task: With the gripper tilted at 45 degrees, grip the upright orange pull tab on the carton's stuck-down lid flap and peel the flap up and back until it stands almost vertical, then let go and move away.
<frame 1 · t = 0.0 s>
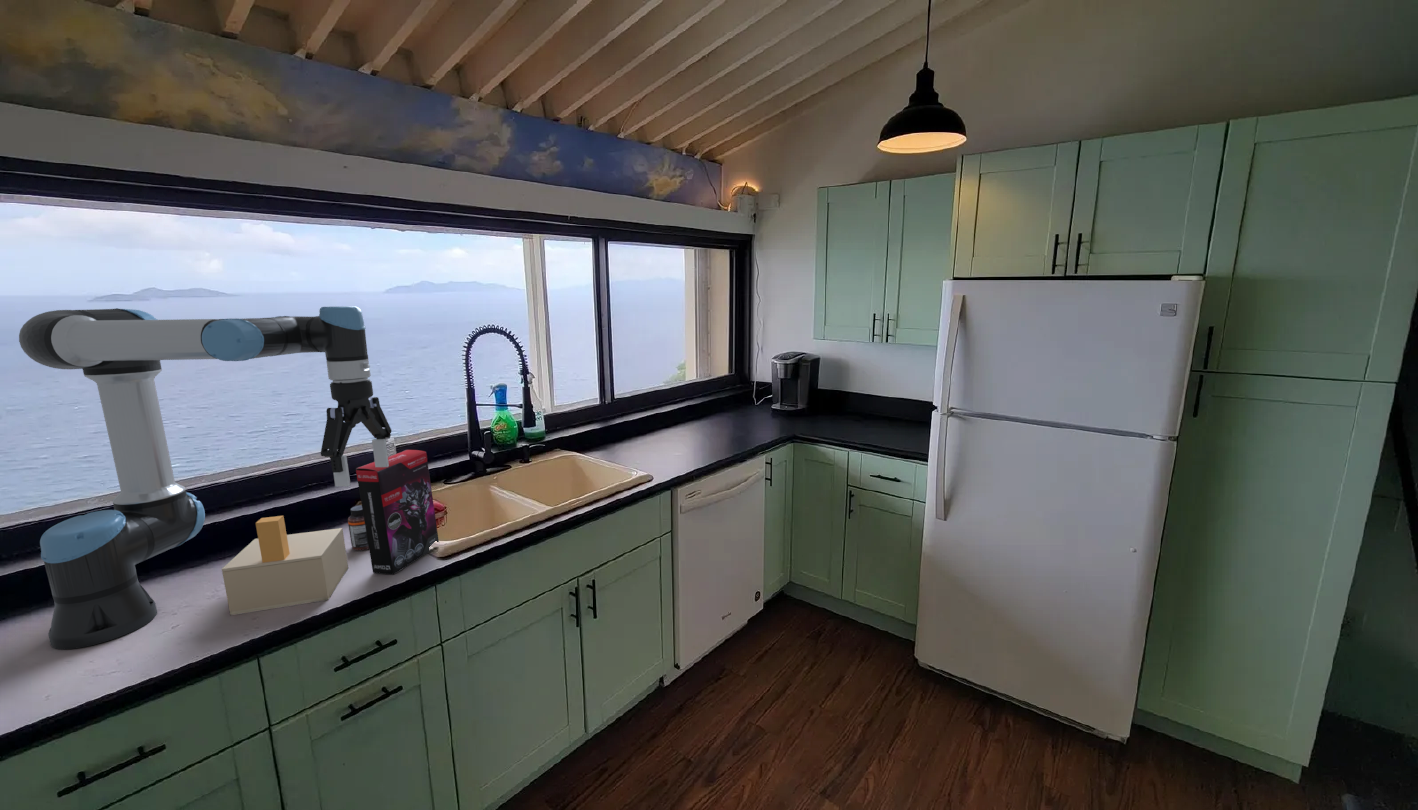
hand: (363, 476, 122), 28 cm above the countertop, tool pointing down, fingers open, 13 cm apart
carton: (294, 589, 129), on the countertop
supplement bottle: (364, 547, 152), on the countertop
carton flap: (284, 529, 126), point 15 cm above the countertop, hinge at 0.0°
graphics card box: (406, 560, 143), on the countertop
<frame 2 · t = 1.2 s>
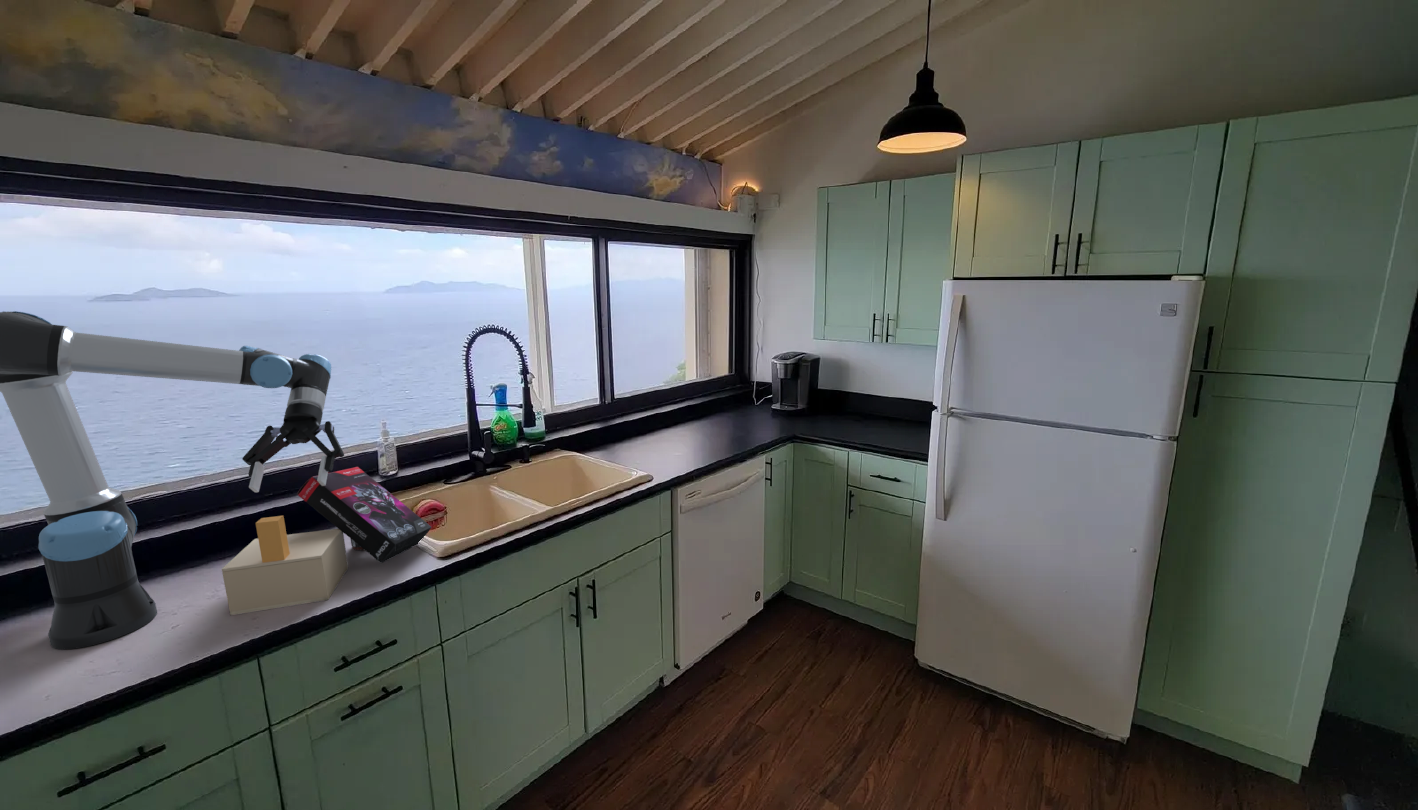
hand: (287, 486, 128), 24 cm above the countertop, tool tilted 45°, fingers open, 13 cm apart
supplement bottle: (364, 547, 152), on the countertop, touching graphics card box
carton flap: (284, 529, 126), point 15 cm above the countertop, hinge at 0.0°, touching graphics card box
graphics card box: (408, 546, 144), point 3 cm above the countertop, touching supplement bottle, carton flap
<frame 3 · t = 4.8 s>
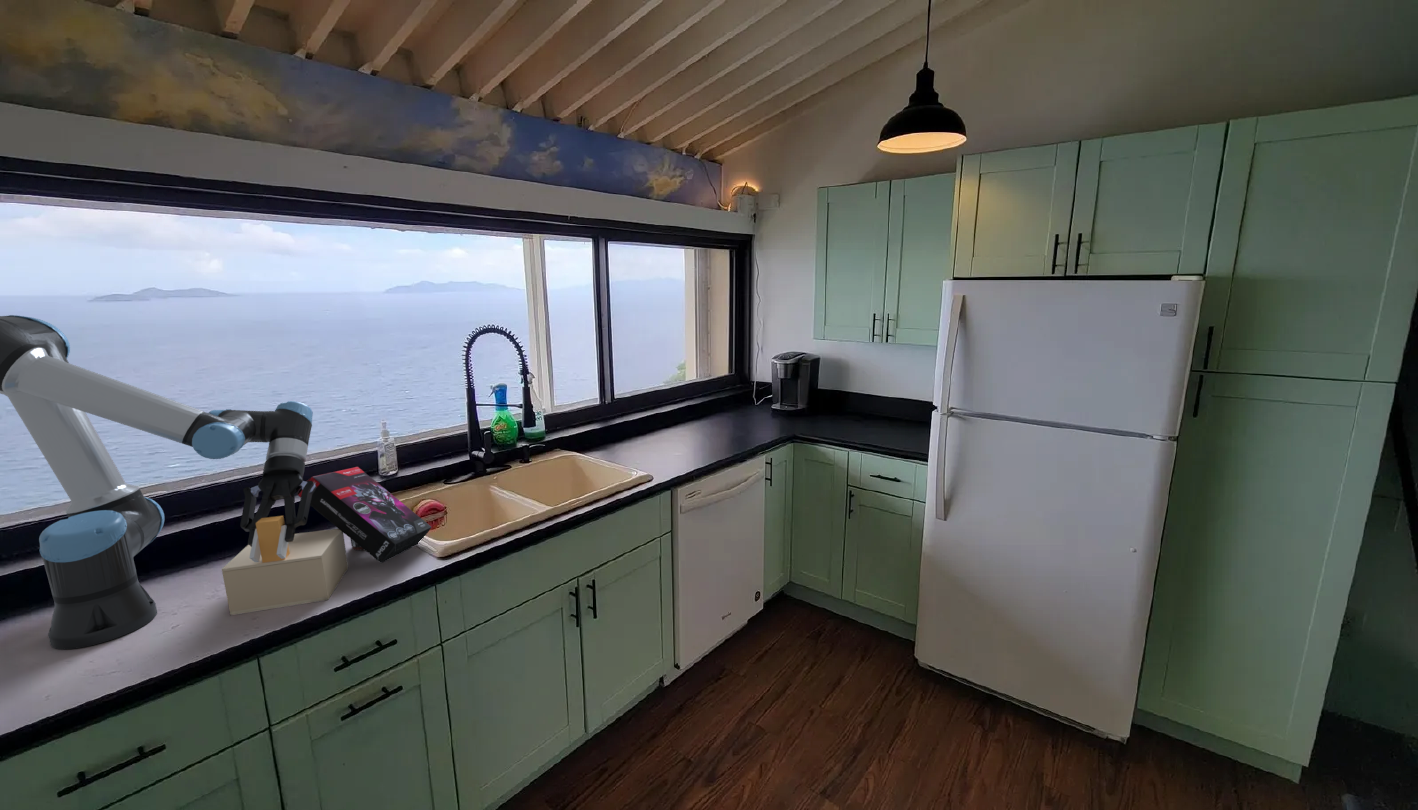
hand: (267, 557, 118), 13 cm above the countertop, tool tilted 45°, fingers closed on carton flap, 4 cm apart
carton flap: (284, 529, 126), point 15 cm above the countertop, hinge at 0.0°, touching graphics card box, gripper
everything else where it was.
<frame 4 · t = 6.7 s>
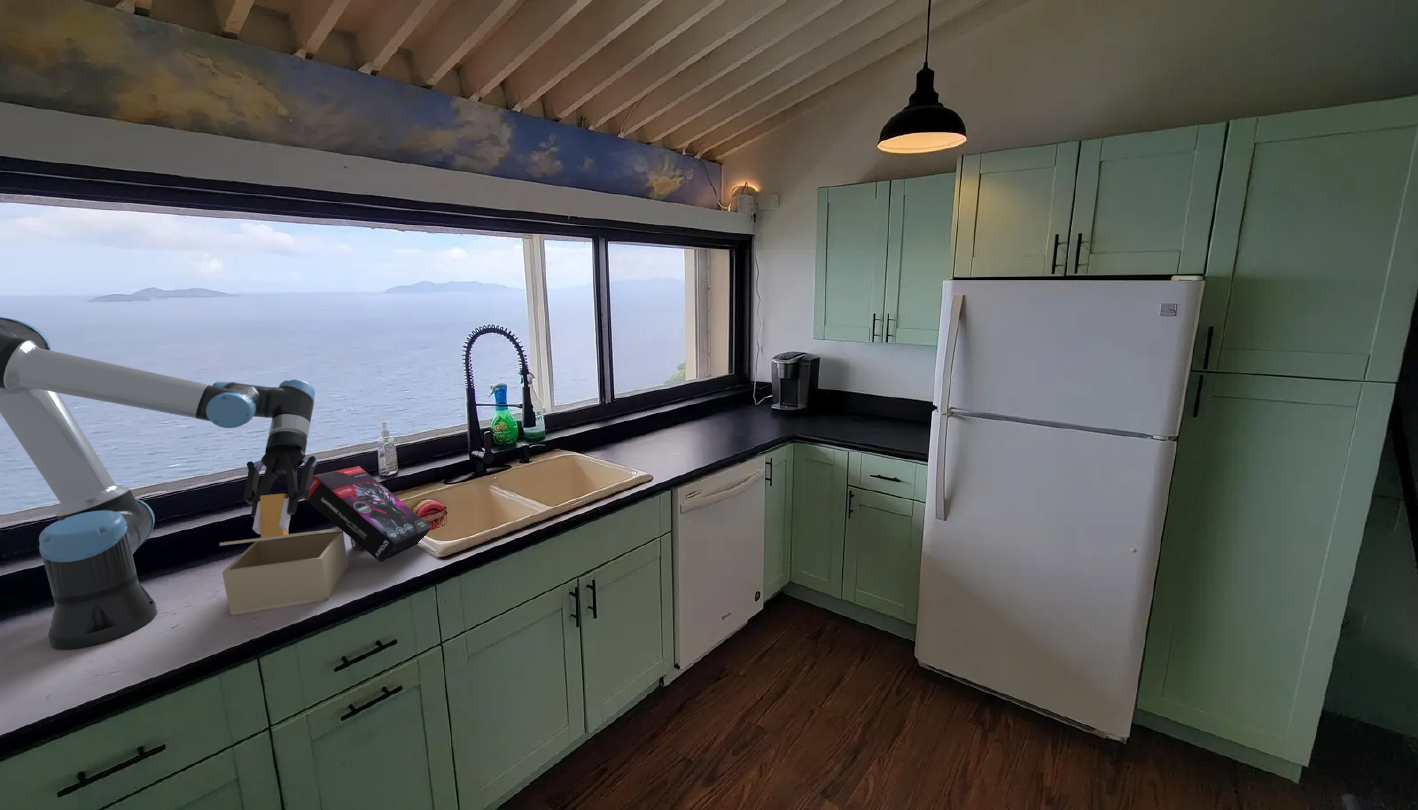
hand: (270, 529, 120), 18 cm above the countertop, tool tilted 45°, fingers closed on carton flap, 4 cm apart
carton flap: (285, 516, 128), point 17 cm above the countertop, hinge at 19.8°, touching graphics card box, gripper
everything else where it was.
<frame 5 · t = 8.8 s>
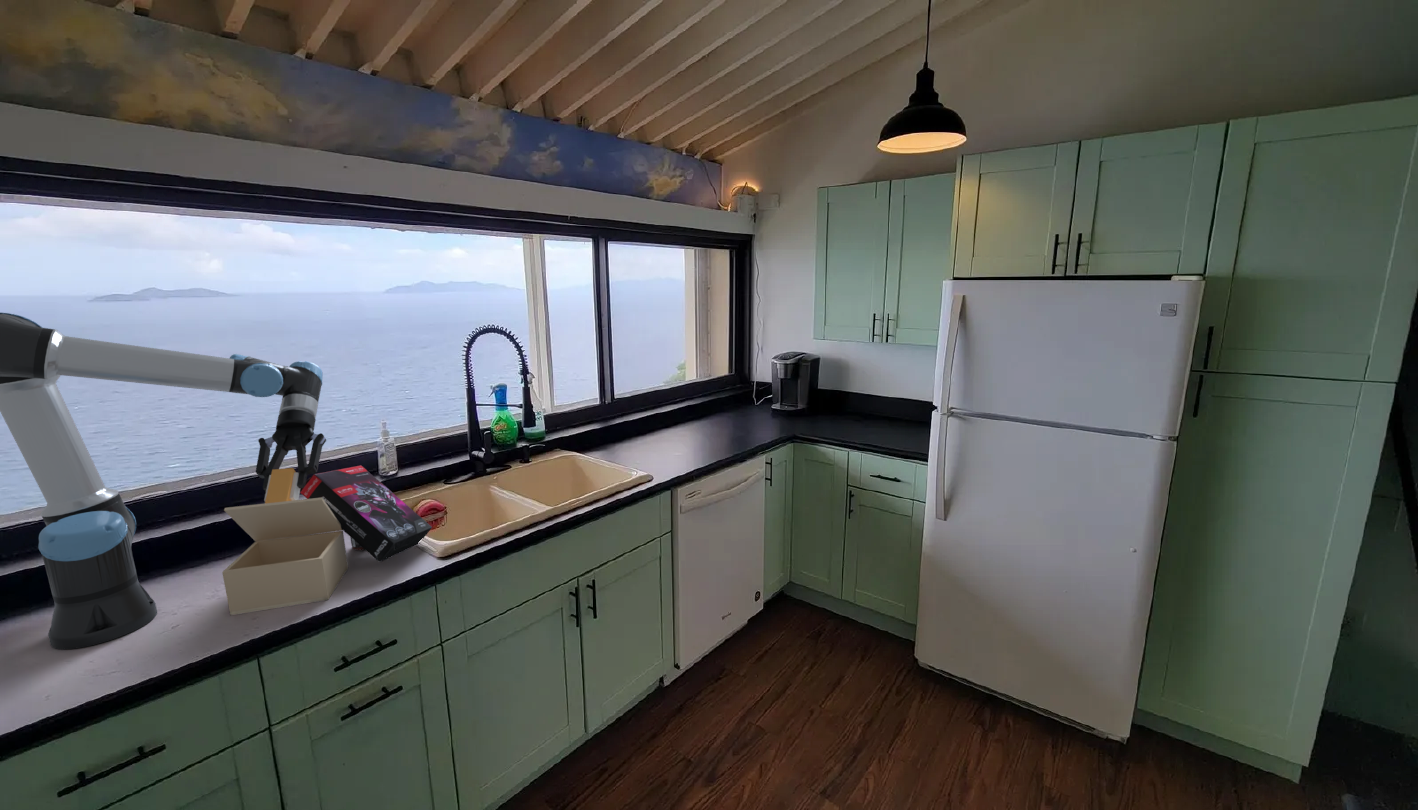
hand: (281, 501, 126), 21 cm above the countertop, tool tilted 45°, fingers closed on carton flap, 4 cm apart
carton flap: (291, 502, 131), point 19 cm above the countertop, hinge at 47.2°, touching graphics card box, gripper
everything else where it was.
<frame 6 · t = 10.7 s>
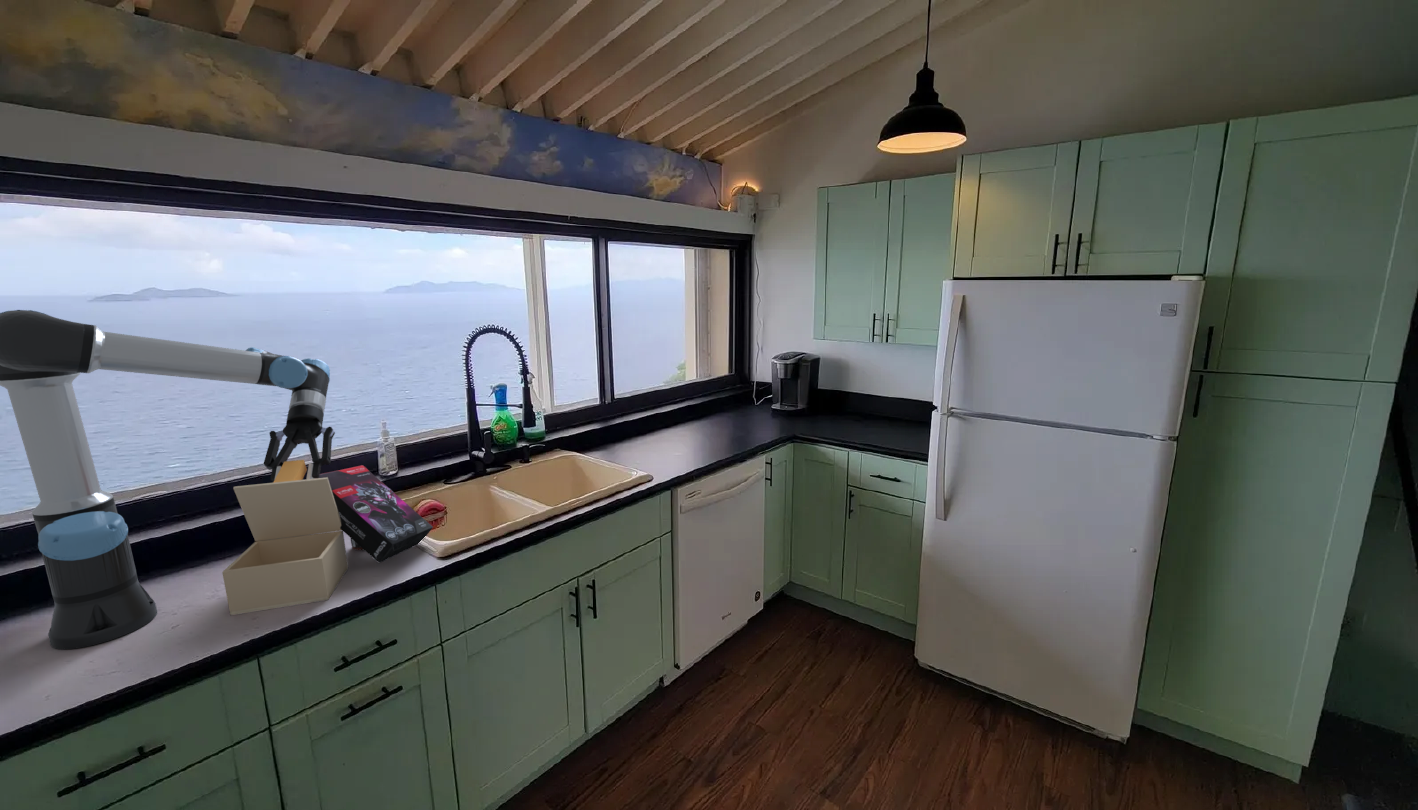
hand: (292, 491, 133), 21 cm above the countertop, tool tilted 45°, fingers open, 6 cm apart
supplement bottle: (364, 547, 152), on the countertop
carton flap: (296, 497, 135), point 19 cm above the countertop, hinge at 69.7°, touching graphics card box
graphics card box: (407, 546, 144), point 3 cm above the countertop, touching carton flap
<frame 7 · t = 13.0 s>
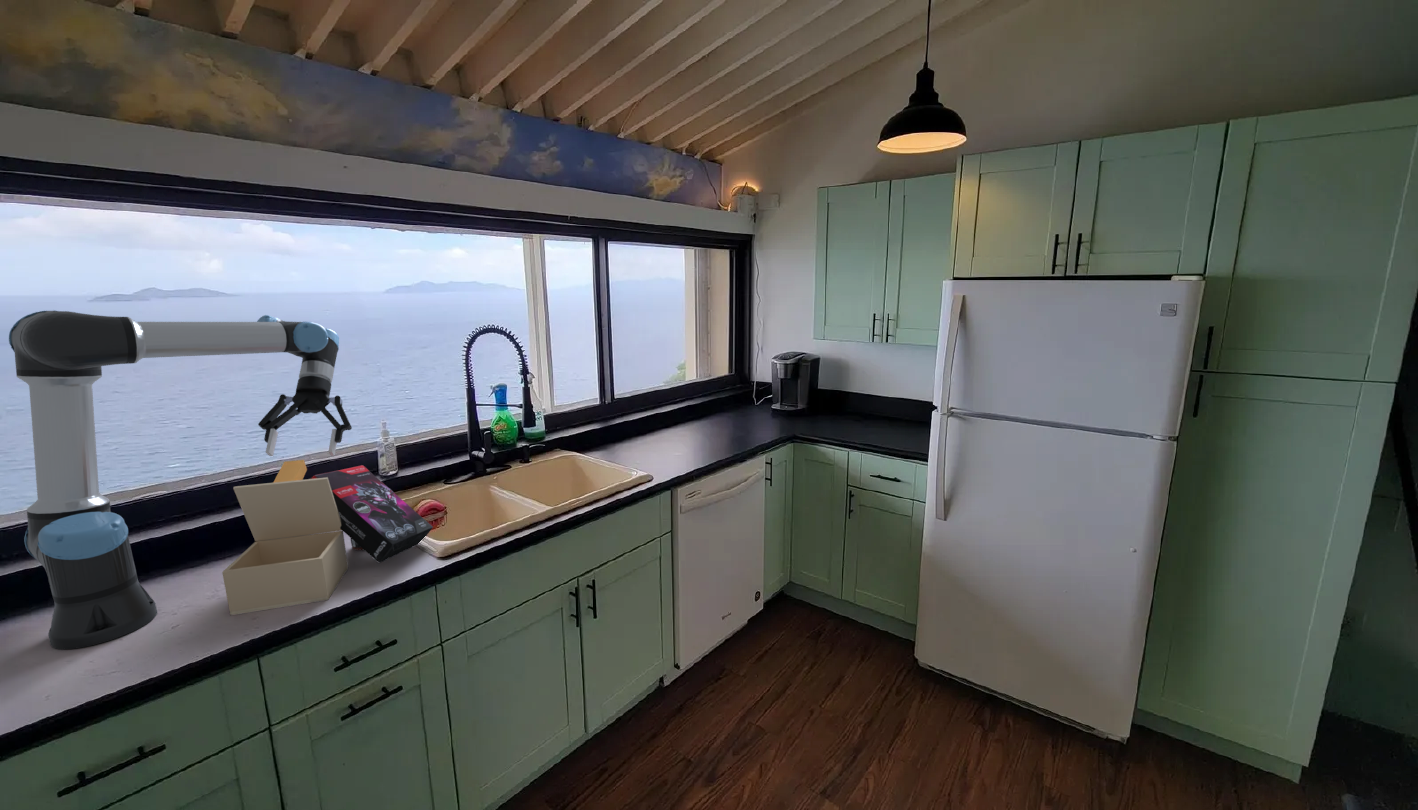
hand: (300, 454, 143), 27 cm above the countertop, tool tilted 35°, fingers open, 13 cm apart
nothing on the countertop moved.
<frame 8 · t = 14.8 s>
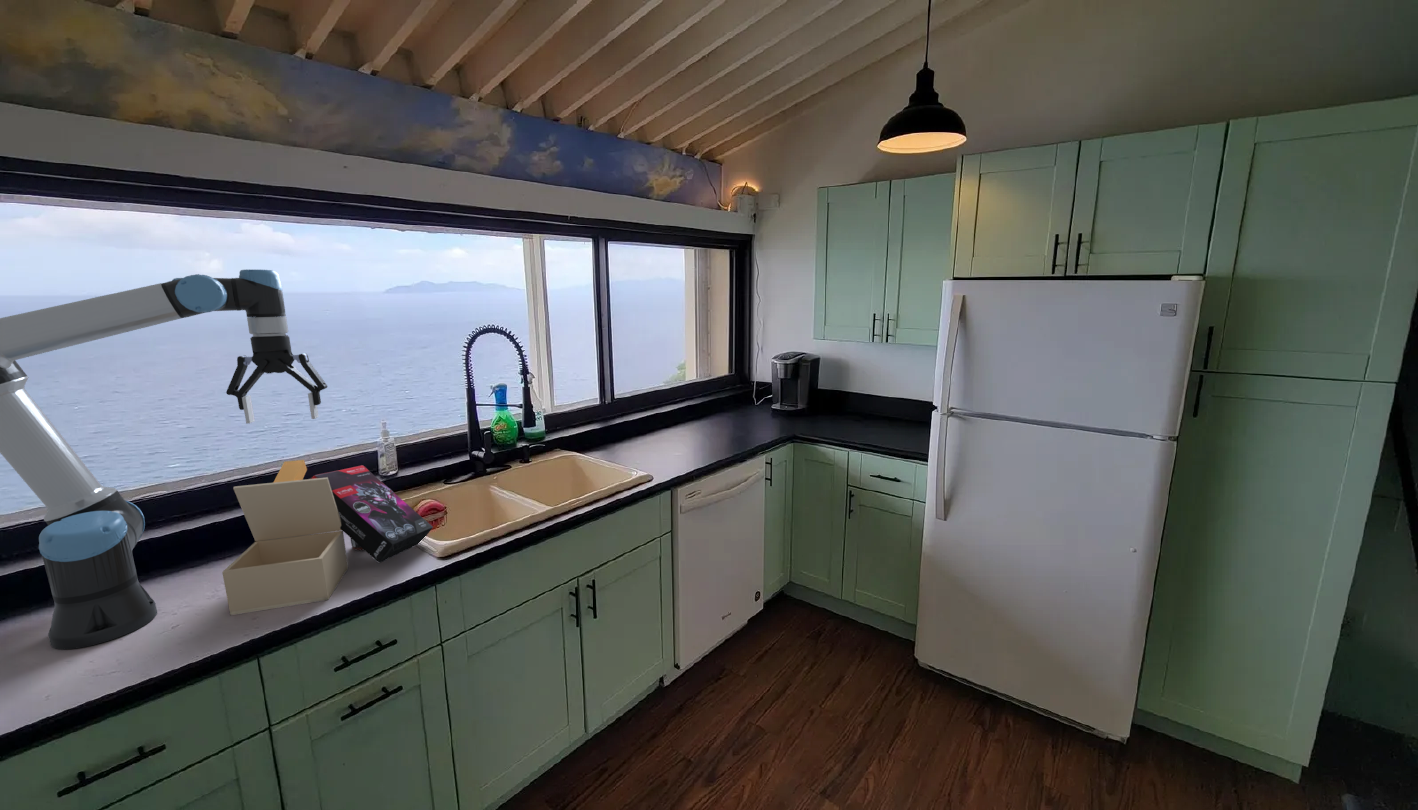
hand: (283, 420, 139), 37 cm above the countertop, tool pointing down, fingers open, 13 cm apart
nothing on the countertop moved.
at the end: carton flap at +70° (first picture: +0°); the gripper is holding nothing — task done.
